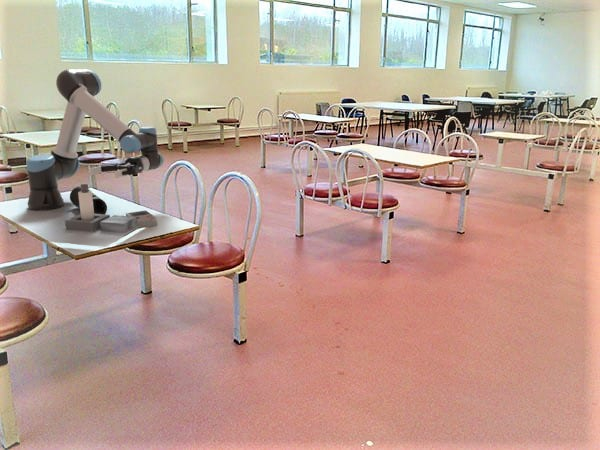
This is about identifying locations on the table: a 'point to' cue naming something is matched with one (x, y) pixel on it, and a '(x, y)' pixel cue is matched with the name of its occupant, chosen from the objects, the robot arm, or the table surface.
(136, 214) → the handheld gaming device
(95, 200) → the muzzle brake
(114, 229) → the stand
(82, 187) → the white bottle
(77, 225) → the socket block
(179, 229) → the table surface
